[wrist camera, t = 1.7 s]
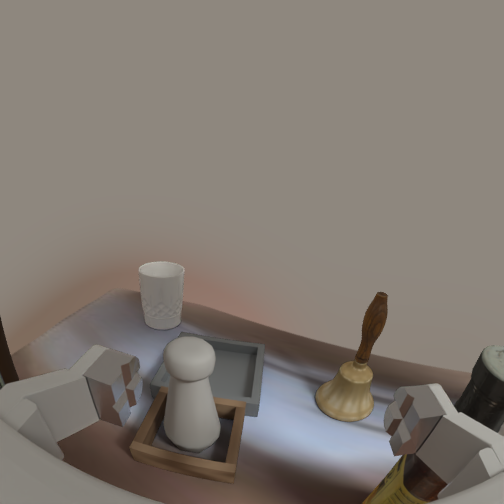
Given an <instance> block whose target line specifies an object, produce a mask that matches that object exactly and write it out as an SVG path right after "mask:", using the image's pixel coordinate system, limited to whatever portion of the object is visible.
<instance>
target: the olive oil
mask: <svg viewBox="0 0 504 504" xmlns="http://www.w3.org/2000/svg"><path fill="white" fill-rule="evenodd" d="M16 381H19V378H18V375H17V373H16V370H15V367H14V364H13V361H12V358H11V355H10V352H9V348H8V345H7V341H6V338H5V334H4V330H3V326H2V322H1V317H0V390H1V389H2V388H3V387H4V386H5V385H6V384H8V383H12V382H16Z"/></svg>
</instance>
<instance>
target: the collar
mask: <svg viewBox="0 0 504 504" xmlns="http://www.w3.org/2000/svg"><path fill="white" fill-rule="evenodd" d="M167 395H168V387H164V386H161V388H160V390H159V392H158V394H157V395H156V397H155V399H154V401H153V403H152V405H151V407H150V409H149V411H148V412H147V414H146V416H145V418H144V420H143V422H142V424H141V426H140V428H139V430H138V432H137V434H136V435H135V437H134V439H133V441H132V443H131V445H130V447H129V448H130V451H131V453H132V456H133V458H134V460H135V461H138V462H141V463H144V464H148V465H151V466H154V467H158V468H161V469H165V470H168V471H172V472H176V473H180V474H184V475H189V476H193V477H198V478H203V479H208V480H214V481H219V482H226V483H233V484H234V478H235V472H236V466H237V460H238V453H239V447H240V441H241V435H242V428H243V422H244V416H245V408H246V402H244V401H237V400H230V399H224V398H218V397H213V399H214V403H215V407H216V410H217V414H218V418H224V419H231V420H234V421H233V427H232V432H231V437H230V442H229V447H228V452H227V457H226V462H225V463H223V462H217V461H211V460H206V459H201V458H196V457H191V456H187V455H182V454H178V453H174V452H170V451H166V450H163V449H159V448H156V447H152V446H151V445H152V443H153V440H154V438H155V436H156V434H157V431H158V429H159V427H160V425H161V423H162V420H163V418H164V416H165V409H166V402H167Z"/></svg>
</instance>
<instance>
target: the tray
mask: <svg viewBox="0 0 504 504" xmlns="http://www.w3.org/2000/svg"><path fill="white" fill-rule="evenodd" d="M185 336H188V337H197V338H200V339H203V340H204V341H206V342H207V343H209V344H210V345H212V347H213V350H214V352H215V357H216V360H215V366H214V370H213V372H212V374H211V375H209V376H208V378H209V383H210V387H211V391H212V395H213V397H218V398H224V399H230V400H237V401H244V402H246V408H245V416H253V417H257V415H258V410H259V404H260V393H261V383H262V372H263V361H264V350H265V344H258V343H250V342H242V341H235V340H228V339H221V338H215V337H209V336H202V335H197V334H191V333H185V332H181V333H180V335H179V336H178V338H180V337H185ZM169 381H170V374H169V373H168V372H167V370H166V368H165V364H164V361H163V363H162V365H161V366H160V368H159V370H158V372H157V373H156V375H155V377H154V378H153V380H152V382H151V383H150V387H151V393H152V397H154V398H155V397H156V395H157V394H158V392H159V390H160V388H161V386H164V387H168V388H169Z"/></svg>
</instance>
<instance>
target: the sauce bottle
mask: <svg viewBox="0 0 504 504" xmlns="http://www.w3.org/2000/svg"><path fill="white" fill-rule="evenodd" d="M454 407H455V409H456V410H457V412H458V413H460V412H462V413H463V414H465V415H467V416H468V417H470V418H472V419H474V420H475V421H477V422H479V423H481V424H482V425H484V426H486V427H487V428H489V429H491V430H493V431H495V432H496V433H498V432H499V431H500V429H501V426H502V424H503V423H504V346H494V345H493V346H488V347H486V348H485V349H484V350H483V351H482V353H481V354H480V356H479V358H478V360H477V362H476V364H475V366H474V368H473V371H472V375H471V380H470V382H469V384H468V385H467V387H466V389H465V391H464V392H463V394H462V396H461V398H460V399H459V400H458V401H457V402H456V403H455V405H454ZM447 485H448V484H447V483H446V482H445V481H444V480H442V479H441V478H440V477H439V476H438V475H437V474H436V473H435V472H434V471H433V470H432V469H431V468H430V467H428V466H427V465H426V464H425V463H424V462H423V461H422V460H421V459H420V458H419V457H418V456H417V455H416V453H414V454H407V455H402V457H401V458H400V459H399V461H398V462H397V463H396V464H395V465H394V467H393V468H392V469H391V471H390V472H389V473H388V474H387V475H386V477H385V478H384V479H383V480H382V481H381V482H380V484H379V485H378V486H377V487H376V488H375V489H374V490H373V491H372V493H371V494H370V495H369V496H368V497H367V498H366V499H365V500H364V501H363V503H362V504H426V503H429V502H432V501H436V500H439V499H438V496H437V495H438V494H439V492H440V491H441V490H442V489H444V488H445V487H446V486H447Z"/></svg>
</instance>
